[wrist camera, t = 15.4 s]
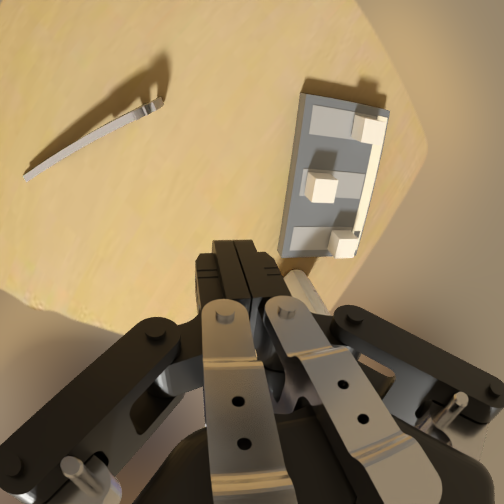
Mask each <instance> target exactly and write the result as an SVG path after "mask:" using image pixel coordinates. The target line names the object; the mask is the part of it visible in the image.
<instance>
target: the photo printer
mask: <svg viewBox="0 0 504 504" xmlns="http://www.w3.org/2000/svg"><path fill="white" fill-rule="evenodd" d="M283 279H284V281H285V283H286V285H287V287H288V289H289V291H290V293H291V295H292V297H294V298H297V299H299V300H301V301H302V302H303V303H304V304H305V305H306V306H307V308H308V309H309V311H310V312H312V313H315V314H322V315H329V316H331V315H330V313H329V311H328V309H327V308H326V306H325V304H324V303H323V301H322V299H321V298H320V296H319V294H318V293H317V291H316V289H315V288H314V286H313V284H312V283H311V281H310V280H309V278H308V277H307V276H306V274H305V273H304V272H303V271H301V270H291V271H290V272H289V273H288V274H287V275H286V276H285V277H284V278H283Z"/></svg>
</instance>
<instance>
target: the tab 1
mask: <svg viewBox="0 0 504 504" xmlns="http://www.w3.org/2000/svg"><path fill="white" fill-rule="evenodd" d="M357 243H358V238H357V237H356V236H355V235H354V234H353V232H352V231H351V230H332V232H331V236H330V240H329V244H328V250H329V252H330V253H331V254H332V256H333V257H334V258H353V257H354V253H355V250H356V246H357Z"/></svg>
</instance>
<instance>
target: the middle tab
mask: <svg viewBox="0 0 504 504" xmlns="http://www.w3.org/2000/svg"><path fill="white" fill-rule="evenodd" d="M337 185H338V180H337V179H336V178H335V177H334V176H332V175H331V174H327V173H315V172H308V175H307V181H306V187H305V193H304V195H305V196H306V197H307V198H308V199H309V200H310V201H311V202H313V203H334V200H335V195H336V190H337Z"/></svg>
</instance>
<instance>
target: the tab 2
mask: <svg viewBox="0 0 504 504" xmlns="http://www.w3.org/2000/svg"><path fill="white" fill-rule="evenodd" d="M385 123H386V122H383V121H380V120H377V119H373V118H369V117H364V116H359V115H355V117H354V123H353V129H352V135H351V138H353V139H355V140H357V141H359V142H362V143H368V144H374V145H380V146H381V144H382V139H383V134H384V129H385Z"/></svg>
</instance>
